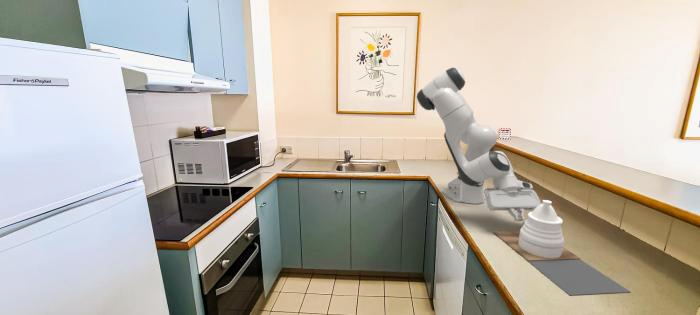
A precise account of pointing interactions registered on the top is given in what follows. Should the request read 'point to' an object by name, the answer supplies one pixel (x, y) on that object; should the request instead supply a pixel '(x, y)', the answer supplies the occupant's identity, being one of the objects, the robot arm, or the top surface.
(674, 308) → the top surface
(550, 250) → the honey pot
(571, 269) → the trivet mat
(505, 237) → the cutting board
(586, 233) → the top surface
